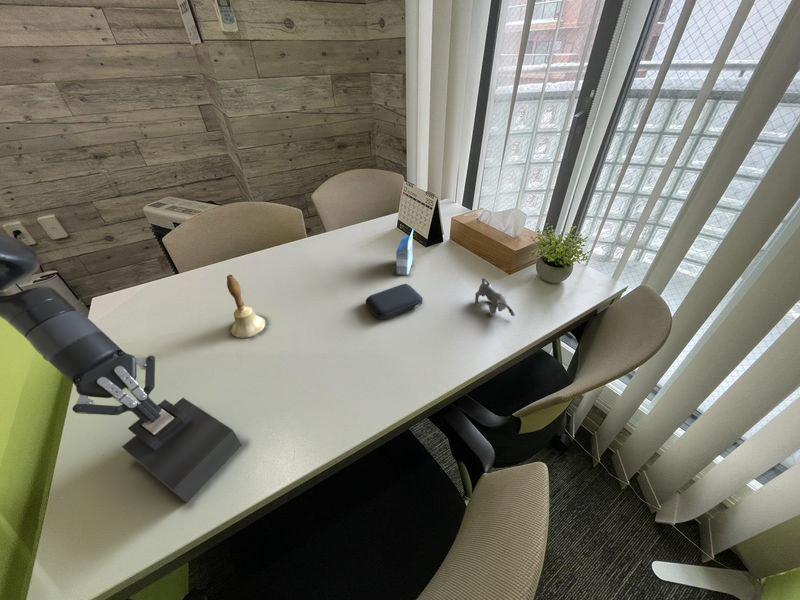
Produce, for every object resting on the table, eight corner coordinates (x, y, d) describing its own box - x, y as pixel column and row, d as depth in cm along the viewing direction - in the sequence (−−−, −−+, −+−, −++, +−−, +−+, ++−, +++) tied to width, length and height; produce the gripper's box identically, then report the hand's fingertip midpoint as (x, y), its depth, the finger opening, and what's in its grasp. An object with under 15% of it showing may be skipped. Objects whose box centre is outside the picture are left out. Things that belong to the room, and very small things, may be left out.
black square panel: (134, 459, 58) (113, 439, 54) (191, 411, 65) (176, 390, 61) (186, 503, 52) (167, 484, 48) (242, 445, 60) (229, 424, 56)
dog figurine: (470, 300, 93) (474, 279, 89) (486, 294, 95) (490, 273, 91) (498, 325, 85) (503, 303, 80) (515, 318, 87) (521, 297, 82)
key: (146, 430, 57) (141, 424, 56) (166, 414, 59) (161, 408, 58) (158, 439, 55) (153, 434, 54) (178, 422, 58) (174, 417, 57)
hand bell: (242, 315, 88) (222, 265, 78) (270, 318, 87) (254, 268, 78) (225, 336, 82) (201, 285, 72) (256, 339, 81) (235, 288, 71)
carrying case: (381, 326, 85) (427, 307, 91) (380, 317, 83) (428, 299, 89) (363, 304, 92) (407, 288, 98) (362, 295, 90) (407, 279, 96)
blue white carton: (401, 259, 111) (401, 226, 103) (412, 261, 110) (413, 227, 102) (396, 274, 104) (395, 239, 96) (408, 275, 103) (408, 240, 95)
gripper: (19, 369, 46) (115, 452, 49) (119, 314, 55) (195, 387, 58) (29, 378, 51) (115, 453, 54) (119, 327, 60) (188, 393, 63)
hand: (156, 419), depth 56 cm, fingers closed
